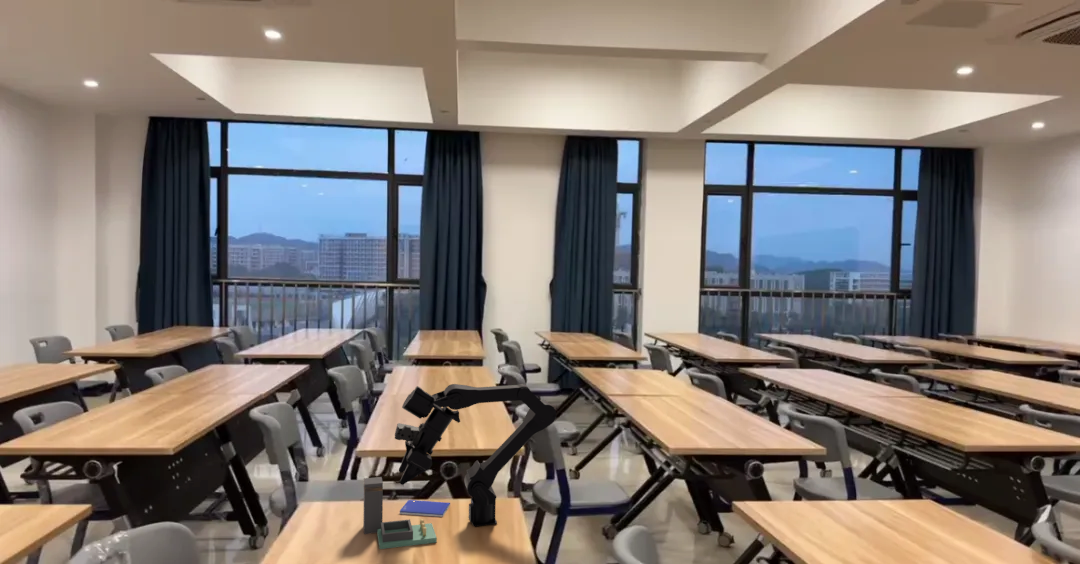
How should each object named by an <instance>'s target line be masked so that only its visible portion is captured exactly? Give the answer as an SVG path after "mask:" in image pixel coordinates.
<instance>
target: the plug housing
mask: <svg viewBox="0 0 1080 564" xmlns="http://www.w3.org/2000/svg"><path fill="white" fill-rule="evenodd" d="M382 477H383V476H377V477H366V478H363V519H362V520H363V527H362V528H363V535H368V534H377V529H381V522H383V510H384V509H383V503H384V501H383V500H384V499H383V497H384V496H383V495H384V493H383V492H384V490H383V487H384V486H383V485H384V481H383V478H382Z"/></svg>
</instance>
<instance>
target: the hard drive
mask: <svg viewBox="0 0 1080 564" xmlns="http://www.w3.org/2000/svg"><path fill="white" fill-rule="evenodd" d="M413 501H415V502H413ZM449 506H450V507H451V502H443V501H442V502H441V501H429V500H416V499H408V500H407V501H406V502H405V504H404V505H403V506H402V507H401V509H400V510H399V515H406V516H407V515H408V516H409V515H412V516H422V517H423V516H425V517H441V518H442V517H445V514H446V513H447V511H448V509H449V508H450V507H449Z"/></svg>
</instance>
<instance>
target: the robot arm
mask: <svg viewBox="0 0 1080 564" xmlns="http://www.w3.org/2000/svg"><path fill="white" fill-rule="evenodd" d="M514 401H521V402H522V403H523V404H524V405H525V406H526V407H527V408H529V409H528V410H527V412H526V414H525V416H524V419H523V421H522V422H521V424H520V425H519V426H518V427H517V428H516V429H515V430H514V431H513V432H512V433H511V434H510V435H509V436H508V438H506V439H505V441H504V442H503V443H502V444H501V445H500V446H499V447H498V448H497V449H496V450H495V451H494V452H493V453H492V454H491V455H490V456H489V458H487V459H486V460H485V461H483V462H481V463H480V462H479V460H476V461H474V463H473V465H471V467H470V468H468V469H466V474H465V476H464V486H465V489H466V491H467V493H468V495H469V496H470V503H469V504H468V519H469V521H470V523H471V525H472V526H473V527H482V526H491V525H498V521H497V519H496V502H497V501H496V500H497V495H496V493H495V491H494V488H493V484H494V482H495V479H496V477H497V476H498V474H499V472H500V471H501V470H502V469H503V468H504V467H505V466H506V465H507V464H508V463H509V462H510V461H511V460H512V458H513V457H515V455H516V454H518V452H520V450H521V449H522V448H523V447H524V446H525V445H526V444H527V442H529V440H531V438H533V436H534V435H536V434H538V433H540V432H542V431H544V430H546V429H547V428H549V426H551V425H552V424H553V423H555V421H556V420H557V410H556V408H555V407H554V406H553V405H552V404H551V403H549V402H548V401H547V400H544V399H539V397H538V396H536V395H535V394H534V393H533V392H532V391H531V389H530V388H529V387H528V386H527V385H526V384H524V383H519V384H513V385H512V384H510V385H508V384H507V385H495V386H494V385H493V386H480V387H479V386H478V387H477V386H471V385H467V384H458V383H457V384H456V383H452V384H449V385H447V386H446V387H445V389H444V390H441V391H440V392H439V391H438V392H436V393H433V394H432V395H431V394H430V393H429V392H426V391H425V390H423V389H422V388H421V387H420V386H418V385H417V386H416V387H415V388H414V389H413V390H412V392H410V393H409V394H408V395H407V397H406V398H405V399H404V402H403V404H402V406H401V409H403V410H405V411H407V412H408V413H410V414H412V415H413V416H415V417H416V418H418V419H420V420H421V419H422V418H423V419H425V418H427V419H426V420H425V421H424V422H422V423H419V425H418V426H416V425H415V426H414V425H412V424H411V425H410V424H407V423H399V422H398V423H397V424H396V429H395V432H394V439H395V440H398V441H405V442H404V444H405V445H404V446H405V450H406V451H405V453H404V456H403V457H402V461H401V463H400V467H399V468H398V472H399V473H401V474H402V473H403V474H402V475H401V478H400V480H399V484H400V485H402V486H403V485H405V484H407V483H408V482H410V481H411V480H413V479H414V478H416V477H418V476H419V475H421V474H422V473H425V472H427V471H430V469H431V467H432V466H433V460H432V456H431V455H432V454H433V453H434V451H433V449H434V448H435V446H436V445H437V444H438V442H441V441H442V439H443V438H442V435H443V434H444V432H445V431H446V429H448V427H449V426H450V424H451V423H452V421H453V420H454V422H456V423H460V422H461V419H460V411H459V410H462V409H466V408H469V407H471V406H474V405H478V404H484V403H485V404H486V403H488V404H489V403H499V402H500V403H501V402H502V403H503V402H514Z"/></svg>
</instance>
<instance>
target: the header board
mask: <svg viewBox="0 0 1080 564" xmlns="http://www.w3.org/2000/svg"><path fill="white" fill-rule="evenodd" d="M419 522H420V524H412V522H411V519H410V518H409V519H401V520H391V521H390V520H389V521H382V522H381V529H377V533H376V534H377V541H378V549H379V550H384V549H393V548H401V547H409V546H418V545H427V544H434V543H437V540H438V538H437V535H436V532H435V528H434V526H433V524H432V523H431V522H430V523H425V519H420V520H419Z"/></svg>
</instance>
